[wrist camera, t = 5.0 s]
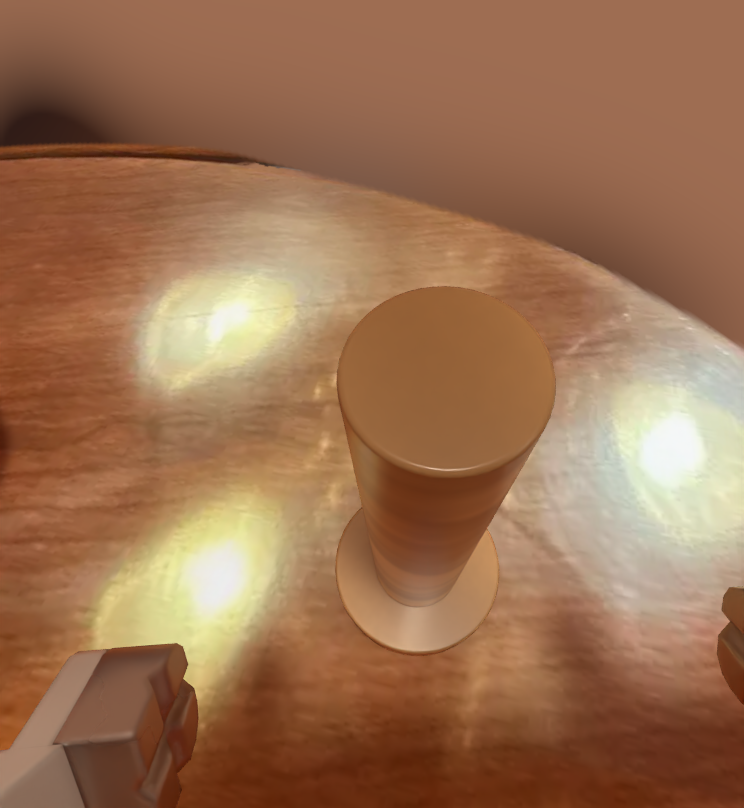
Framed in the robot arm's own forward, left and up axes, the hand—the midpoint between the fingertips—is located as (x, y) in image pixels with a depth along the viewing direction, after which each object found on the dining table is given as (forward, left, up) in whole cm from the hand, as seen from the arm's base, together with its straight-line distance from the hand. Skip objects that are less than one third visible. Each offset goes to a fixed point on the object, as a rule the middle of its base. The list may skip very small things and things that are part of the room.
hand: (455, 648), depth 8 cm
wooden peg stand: (-2, -2, -11) cm, 11 cm away
